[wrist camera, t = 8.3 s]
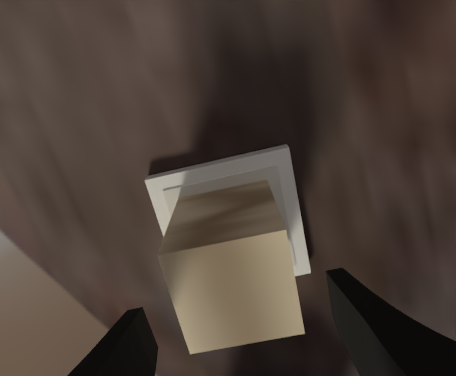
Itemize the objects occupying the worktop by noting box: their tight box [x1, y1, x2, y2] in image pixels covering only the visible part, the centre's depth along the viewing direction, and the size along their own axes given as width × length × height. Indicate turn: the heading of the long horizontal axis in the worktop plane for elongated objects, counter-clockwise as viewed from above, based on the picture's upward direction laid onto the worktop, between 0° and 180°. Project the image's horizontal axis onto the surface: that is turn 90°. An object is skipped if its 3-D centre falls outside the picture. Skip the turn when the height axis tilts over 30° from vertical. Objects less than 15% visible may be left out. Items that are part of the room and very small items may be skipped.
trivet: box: [145, 144, 311, 276], centre depth 19 cm, size 8×8×1 cm
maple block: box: [157, 180, 305, 354], centre depth 16 cm, size 5×5×6 cm
